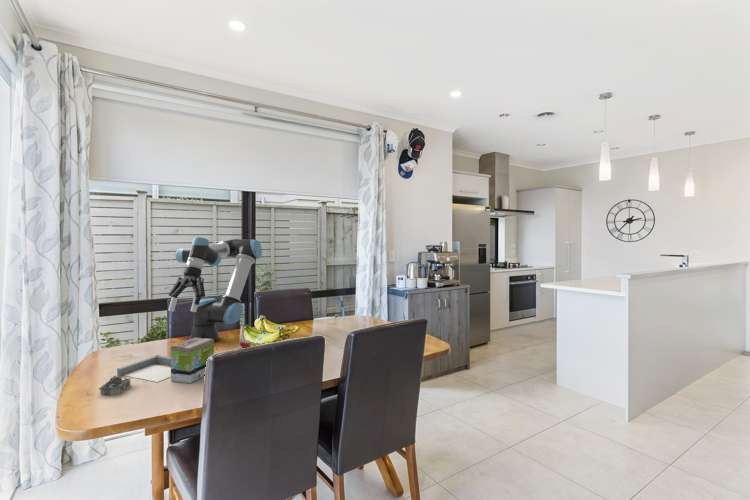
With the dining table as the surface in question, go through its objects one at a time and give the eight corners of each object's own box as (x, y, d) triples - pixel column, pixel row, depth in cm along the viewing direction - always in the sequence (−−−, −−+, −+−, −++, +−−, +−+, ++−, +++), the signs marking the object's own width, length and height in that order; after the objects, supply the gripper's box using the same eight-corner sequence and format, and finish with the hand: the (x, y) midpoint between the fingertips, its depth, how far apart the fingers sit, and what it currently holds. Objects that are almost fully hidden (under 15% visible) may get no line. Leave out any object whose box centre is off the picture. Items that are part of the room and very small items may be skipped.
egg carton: (115, 384, 152) (115, 374, 152) (134, 385, 152) (134, 375, 152) (95, 395, 141) (95, 385, 141) (115, 396, 141) (115, 385, 141)
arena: (157, 361, 179) (157, 355, 178) (193, 367, 171) (193, 361, 171) (117, 375, 160) (117, 368, 160) (155, 383, 153) (155, 376, 153)
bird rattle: (236, 371, 174) (254, 363, 175) (226, 349, 173) (245, 341, 174) (240, 366, 180) (257, 359, 181) (230, 345, 180) (248, 337, 180)
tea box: (191, 384, 153) (191, 348, 153) (169, 381, 155) (170, 346, 155) (214, 371, 168) (214, 338, 168) (194, 368, 170) (194, 336, 170)
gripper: (168, 266, 185) (155, 309, 177) (208, 265, 176) (196, 310, 168) (180, 271, 191) (168, 312, 184) (219, 270, 182) (208, 313, 175)
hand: (181, 311), depth 176 cm, fingers open, 13 cm apart
